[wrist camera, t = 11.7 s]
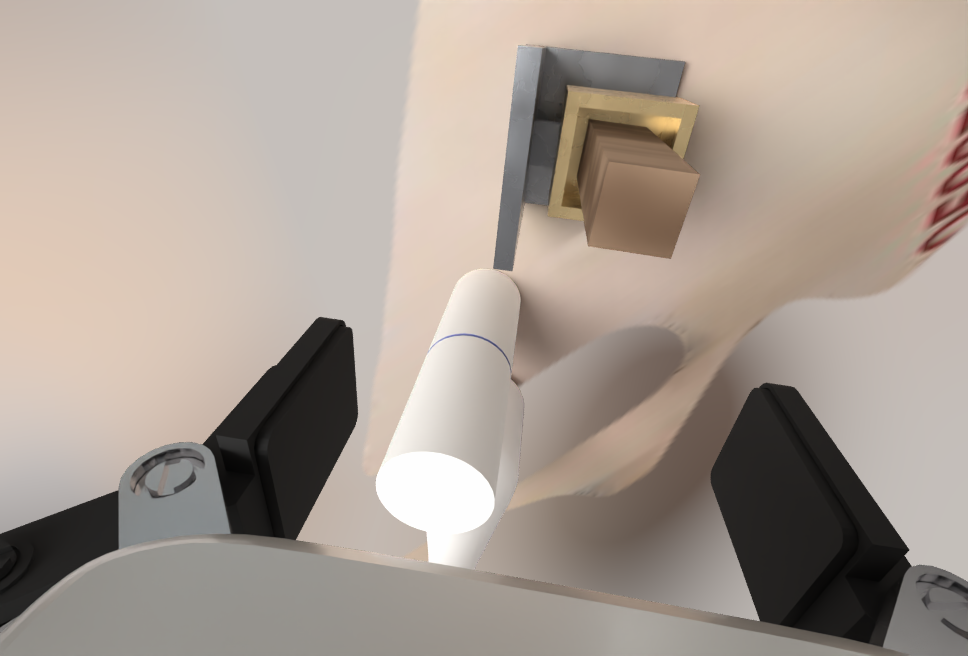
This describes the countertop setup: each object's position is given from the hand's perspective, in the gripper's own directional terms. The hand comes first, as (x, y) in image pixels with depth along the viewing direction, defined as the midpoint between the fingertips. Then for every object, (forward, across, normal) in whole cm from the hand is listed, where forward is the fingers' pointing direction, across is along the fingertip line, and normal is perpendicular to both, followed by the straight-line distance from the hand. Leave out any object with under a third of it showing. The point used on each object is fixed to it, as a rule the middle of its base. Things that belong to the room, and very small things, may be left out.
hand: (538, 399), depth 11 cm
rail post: (+27, -4, -1) cm, 28 cm away
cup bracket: (+34, -3, -1) cm, 34 cm away
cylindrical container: (+34, +4, +16) cm, 38 cm away
